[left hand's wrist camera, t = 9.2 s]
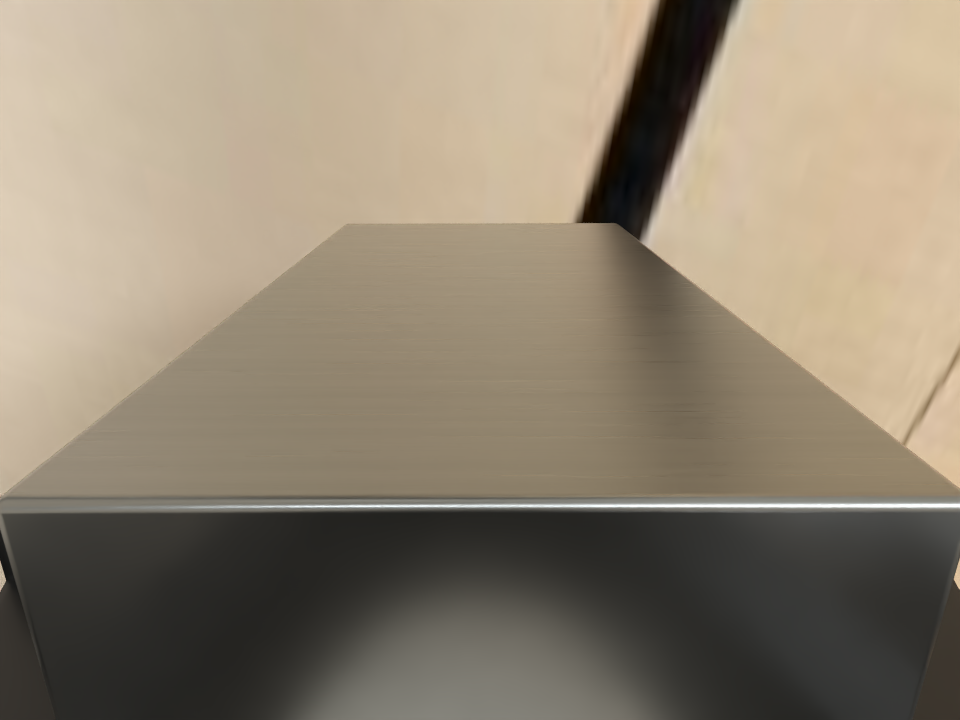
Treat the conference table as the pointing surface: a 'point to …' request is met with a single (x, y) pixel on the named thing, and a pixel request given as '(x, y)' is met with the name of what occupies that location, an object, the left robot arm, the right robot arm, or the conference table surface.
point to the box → (483, 506)
